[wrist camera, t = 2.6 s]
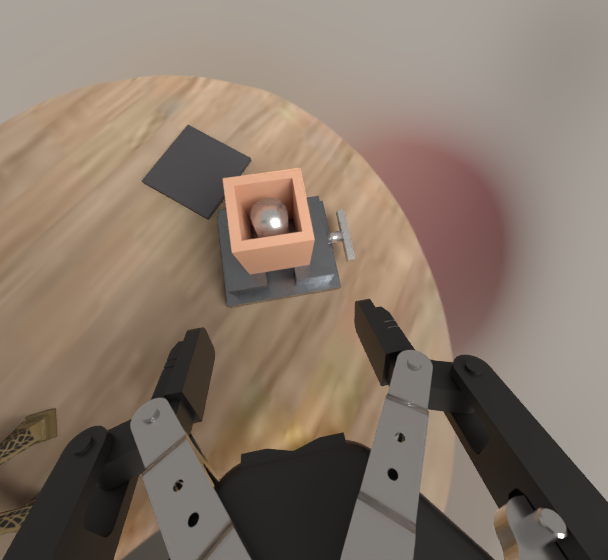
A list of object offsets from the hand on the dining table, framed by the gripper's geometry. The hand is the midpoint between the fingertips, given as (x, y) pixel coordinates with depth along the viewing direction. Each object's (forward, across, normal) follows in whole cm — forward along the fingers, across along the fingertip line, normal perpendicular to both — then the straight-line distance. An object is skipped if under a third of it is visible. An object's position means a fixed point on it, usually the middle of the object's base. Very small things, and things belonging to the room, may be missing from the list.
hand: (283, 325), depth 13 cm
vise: (+17, 0, +4) cm, 18 cm away
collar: (+14, 0, +1) cm, 14 cm away
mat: (+26, +9, -5) cm, 28 cm away
